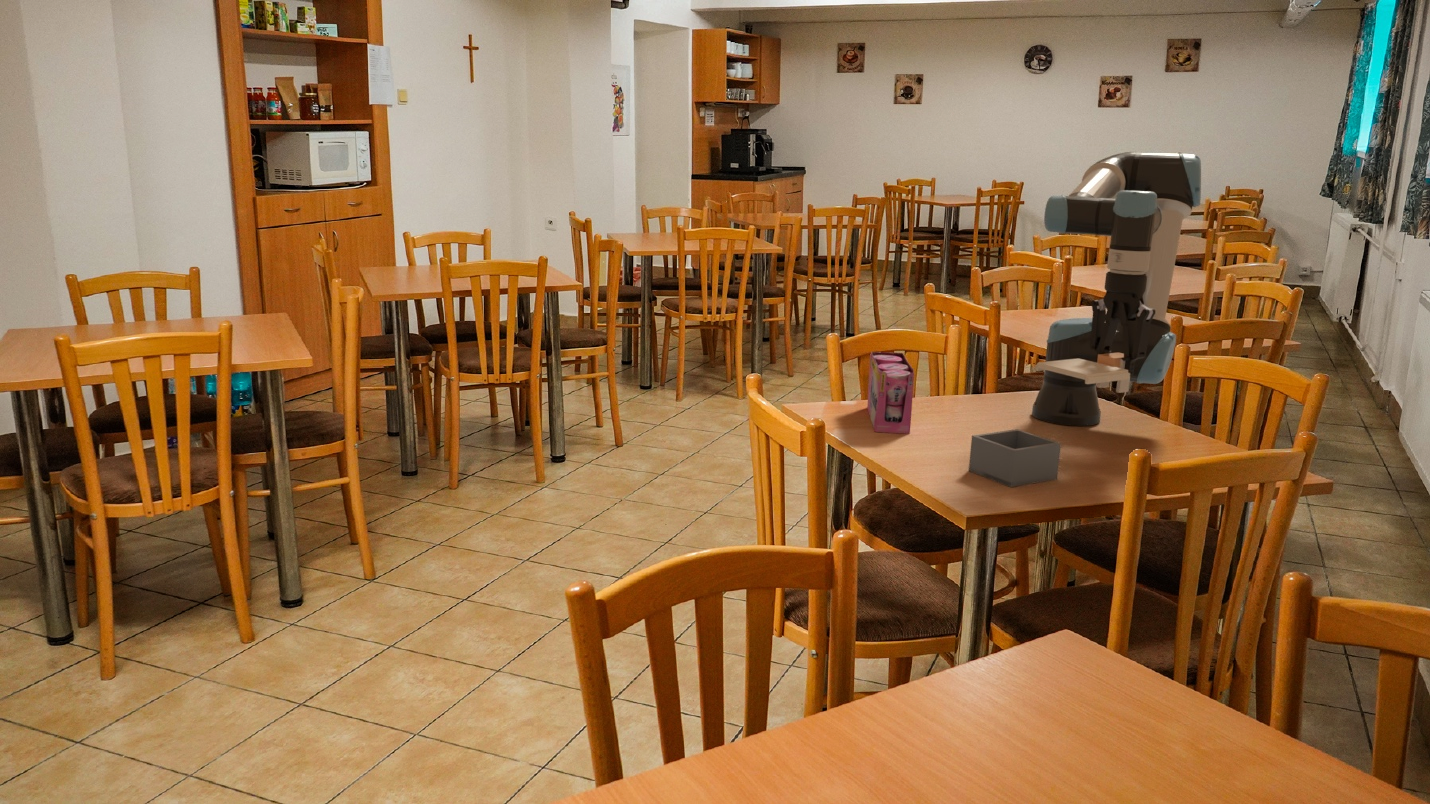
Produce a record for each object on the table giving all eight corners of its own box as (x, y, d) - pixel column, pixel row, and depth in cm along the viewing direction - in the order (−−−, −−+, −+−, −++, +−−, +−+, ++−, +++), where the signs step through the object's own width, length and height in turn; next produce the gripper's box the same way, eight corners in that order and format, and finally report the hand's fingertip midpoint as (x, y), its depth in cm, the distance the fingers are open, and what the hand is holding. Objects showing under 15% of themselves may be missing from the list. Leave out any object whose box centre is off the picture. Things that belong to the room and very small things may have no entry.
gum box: (911, 436, 226) (916, 374, 223) (874, 434, 227) (879, 372, 224) (899, 409, 250) (904, 352, 246) (866, 407, 250) (869, 351, 247)
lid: (1098, 367, 216) (1100, 348, 215) (1151, 380, 205) (1154, 360, 204) (1034, 374, 207) (1036, 354, 206) (1086, 388, 196) (1089, 367, 195)
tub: (1013, 463, 209) (1017, 429, 207) (1057, 478, 199) (1061, 443, 198) (968, 470, 203) (971, 435, 201) (1010, 487, 193) (1014, 450, 192)
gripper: (1078, 267, 210) (1065, 382, 215) (1151, 277, 196) (1135, 400, 201) (1104, 266, 214) (1091, 379, 219) (1177, 276, 199) (1161, 397, 205)
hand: (1112, 389), depth 210 cm, fingers closed on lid, 4 cm apart
